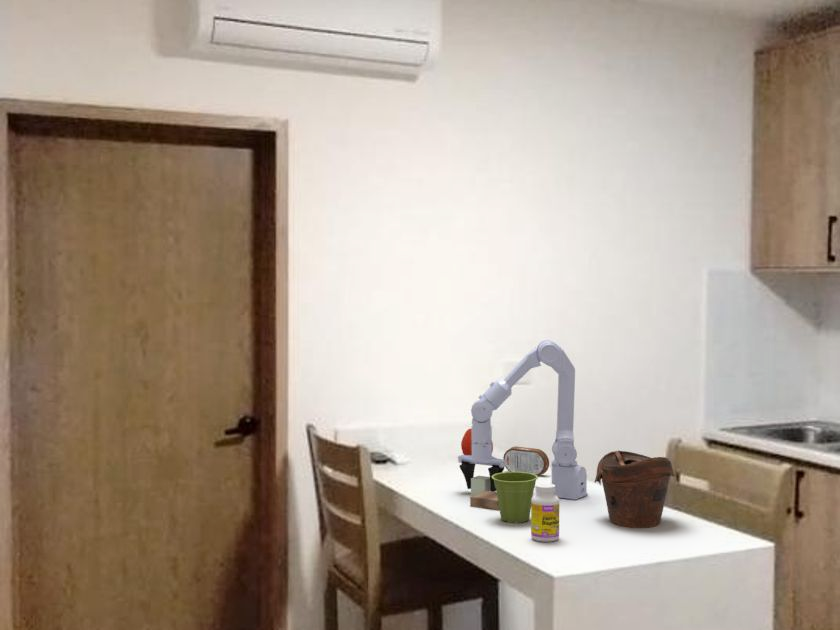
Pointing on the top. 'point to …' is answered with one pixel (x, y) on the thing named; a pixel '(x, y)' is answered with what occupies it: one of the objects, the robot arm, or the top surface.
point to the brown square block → (485, 500)
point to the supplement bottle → (545, 513)
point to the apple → (468, 443)
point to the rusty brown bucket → (634, 487)
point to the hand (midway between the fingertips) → (481, 489)
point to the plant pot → (514, 495)
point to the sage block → (480, 485)
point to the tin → (526, 460)
